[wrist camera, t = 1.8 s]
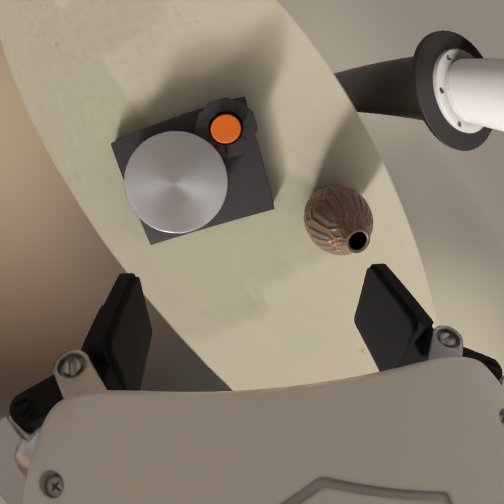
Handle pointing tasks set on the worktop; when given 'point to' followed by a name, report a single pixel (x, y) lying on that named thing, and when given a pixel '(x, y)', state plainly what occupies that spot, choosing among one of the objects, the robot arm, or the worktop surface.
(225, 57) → the worktop surface
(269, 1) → the worktop surface
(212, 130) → the tare button
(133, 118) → the worktop surface
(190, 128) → the scale
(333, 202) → the vase
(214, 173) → the pan
